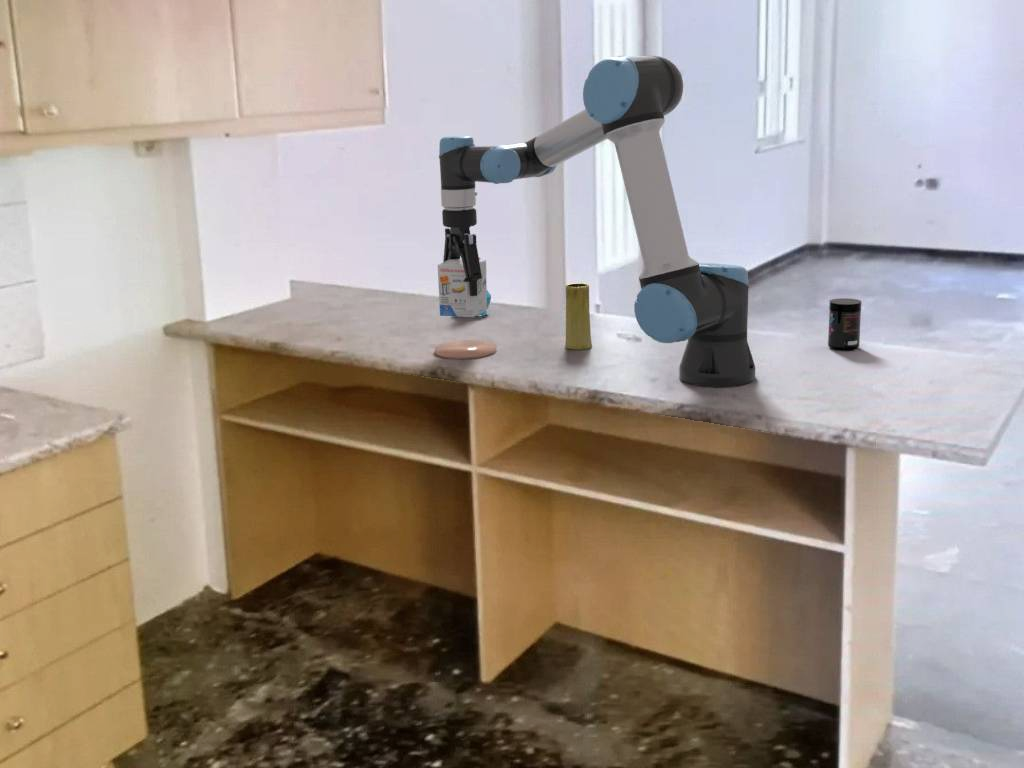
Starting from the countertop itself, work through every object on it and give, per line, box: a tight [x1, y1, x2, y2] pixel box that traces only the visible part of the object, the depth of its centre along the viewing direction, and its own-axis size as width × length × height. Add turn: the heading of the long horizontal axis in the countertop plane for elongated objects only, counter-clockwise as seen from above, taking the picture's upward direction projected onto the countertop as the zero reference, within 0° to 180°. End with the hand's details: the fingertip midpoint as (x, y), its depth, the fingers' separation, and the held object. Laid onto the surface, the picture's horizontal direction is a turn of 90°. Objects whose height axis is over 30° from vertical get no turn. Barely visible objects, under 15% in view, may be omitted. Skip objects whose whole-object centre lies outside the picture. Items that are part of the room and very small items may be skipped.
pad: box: [434, 339, 498, 360], centre depth 263 cm, size 14×14×1 cm
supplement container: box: [827, 298, 863, 352], centre depth 253 cm, size 7×7×10 cm
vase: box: [564, 282, 593, 351], centre depth 262 cm, size 6×6×14 cm
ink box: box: [437, 258, 488, 318], centre depth 259 cm, size 9×8×12 cm
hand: (463, 305), depth 260 cm, fingers closed on ink box, 11 cm apart
